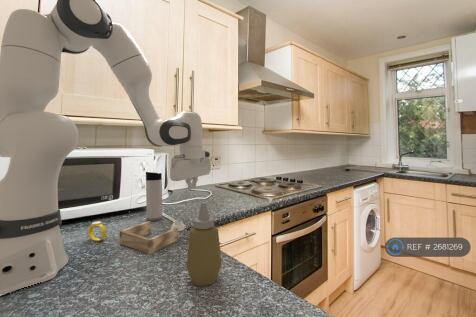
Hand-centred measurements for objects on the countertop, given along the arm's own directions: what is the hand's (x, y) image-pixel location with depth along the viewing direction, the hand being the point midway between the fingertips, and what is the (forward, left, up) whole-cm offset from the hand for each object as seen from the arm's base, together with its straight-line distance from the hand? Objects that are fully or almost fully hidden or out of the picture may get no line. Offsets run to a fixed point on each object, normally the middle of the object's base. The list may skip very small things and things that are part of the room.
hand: (192, 188), depth 92 cm
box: (-20, 0, -14) cm, 25 cm away
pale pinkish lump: (-8, 0, -14) cm, 16 cm away
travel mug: (-4, +17, -14) cm, 22 cm away
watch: (-28, +16, -14) cm, 35 cm away
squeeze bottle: (-28, -28, -14) cm, 42 cm away
